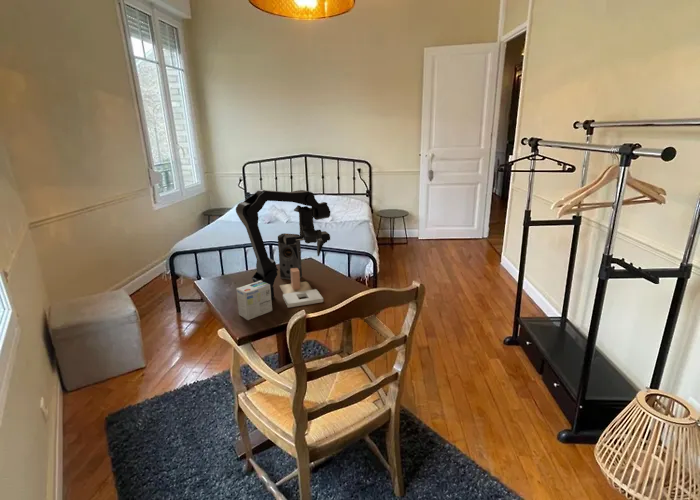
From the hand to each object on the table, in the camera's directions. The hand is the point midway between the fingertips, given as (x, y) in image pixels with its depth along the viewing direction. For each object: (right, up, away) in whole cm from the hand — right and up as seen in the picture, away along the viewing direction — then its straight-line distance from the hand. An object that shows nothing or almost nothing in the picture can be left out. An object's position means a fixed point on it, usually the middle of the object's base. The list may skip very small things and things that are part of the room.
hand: (307, 257), depth 162 cm
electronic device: (-9, -10, +14) cm, 19 cm away
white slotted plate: (-1, -17, -10) cm, 19 cm away
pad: (-5, -13, +1) cm, 14 cm away
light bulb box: (-17, -20, -21) cm, 34 cm away
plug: (-5, -13, +1) cm, 14 cm away
